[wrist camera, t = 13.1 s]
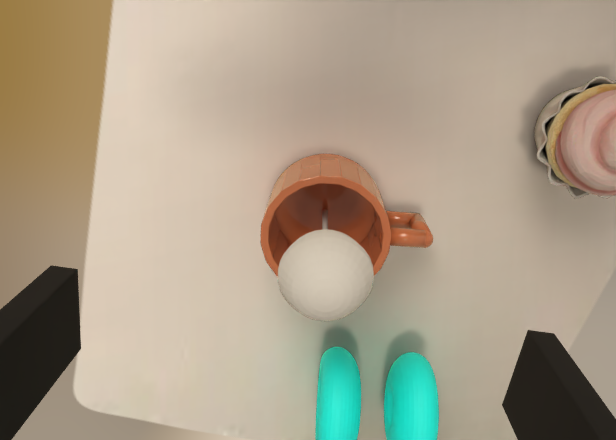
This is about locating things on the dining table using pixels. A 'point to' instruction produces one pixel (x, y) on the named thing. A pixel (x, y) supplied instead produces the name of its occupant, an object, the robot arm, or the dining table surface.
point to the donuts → (397, 402)
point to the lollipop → (325, 274)
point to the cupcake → (580, 139)
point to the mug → (335, 210)
